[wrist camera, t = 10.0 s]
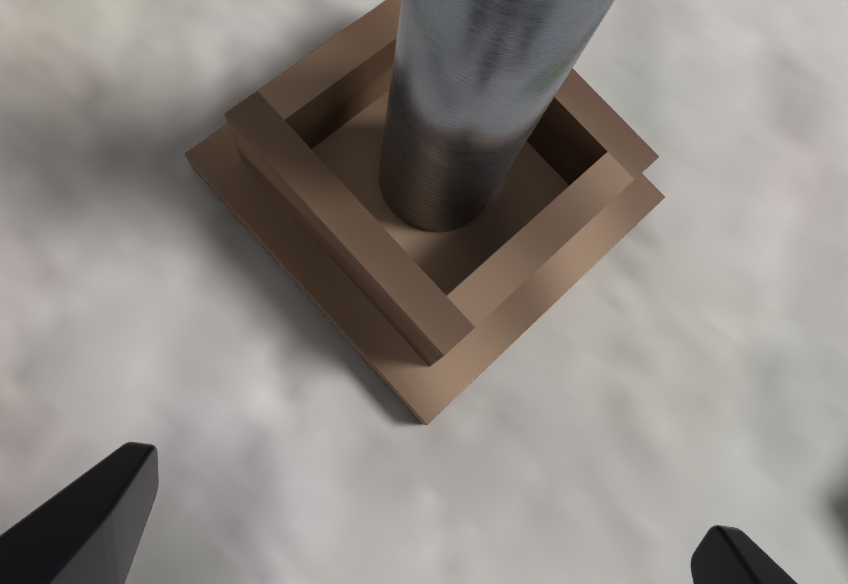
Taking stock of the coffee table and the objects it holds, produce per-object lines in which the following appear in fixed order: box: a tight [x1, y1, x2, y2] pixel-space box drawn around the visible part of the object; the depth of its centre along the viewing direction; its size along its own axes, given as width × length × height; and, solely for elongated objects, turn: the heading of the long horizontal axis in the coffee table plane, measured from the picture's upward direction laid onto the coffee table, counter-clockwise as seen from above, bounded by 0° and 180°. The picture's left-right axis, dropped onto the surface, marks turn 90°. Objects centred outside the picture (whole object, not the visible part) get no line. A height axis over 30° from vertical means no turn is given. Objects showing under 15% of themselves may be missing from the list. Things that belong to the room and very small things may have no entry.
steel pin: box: [379, 0, 615, 233], centre depth 15 cm, size 4×4×13 cm
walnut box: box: [185, 0, 665, 425], centre depth 20 cm, size 12×12×4 cm
